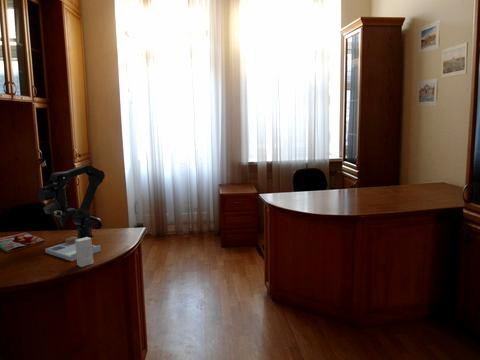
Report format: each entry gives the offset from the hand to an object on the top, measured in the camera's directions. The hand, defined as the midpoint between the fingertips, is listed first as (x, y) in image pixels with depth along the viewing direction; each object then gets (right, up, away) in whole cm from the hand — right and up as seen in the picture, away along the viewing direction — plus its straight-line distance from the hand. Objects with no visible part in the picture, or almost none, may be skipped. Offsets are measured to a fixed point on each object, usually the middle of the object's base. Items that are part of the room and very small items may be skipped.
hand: (62, 226), depth 208 cm
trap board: (+10, -12, -10) cm, 18 cm away
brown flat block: (+6, -8, -3) cm, 10 cm away
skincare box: (+22, -14, -27) cm, 38 cm away
